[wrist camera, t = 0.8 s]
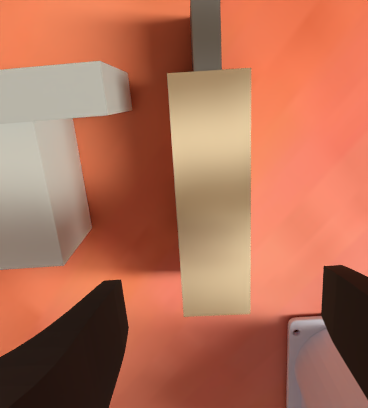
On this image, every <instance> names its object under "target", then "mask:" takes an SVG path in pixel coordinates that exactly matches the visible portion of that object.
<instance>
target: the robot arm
mask: <svg viewBox="0 0 368 408" xmlns="http://www.w3.org/2000/svg"><path fill="white" fill-rule="evenodd" d="M128 328H129V327H128V321H127V315H126V308H125V302H124V296H123V289H122V283H121V280H108V281H103V282H102V283H101V284H99V285H98V286H97V287H96V288H95V289H93V290H92V291H91V292H90V293H89V294H88V295H87V296H85V297H84V298H83V299H82V300H81V301H80V302H78V303H77V304H76V305H75V306H74V307H73V308H71V309H70V310H69V311H68V312H66V313H65V314H64V315H63V316H61V317H60V318H59V319H57V320H56V321H55V322H54V323H52V324H51V325H50V326H48V327H47V328H46V329H44V330H43V331H42V332H40V333H39V334H37V335H36V336H34V337H33V338H31V339H30V340H28V341H27V342H25V343H24V344H22V345H20V346H19V347H17V348H16V349H14V350H12V351H10V352H9V353H7V354H5V355H3V356H1V357H0V408H109V405H110V401H111V398H112V395H113V391H114V388H115V385H116V381H117V378H118V375H119V371H120V368H121V364H122V361H123V357H124V353H125V348H126V342H127V335H128ZM294 330H298V331H297V332H293V331H294ZM286 408H368V277H367V276H365V275H363V274H361V273H358V272H356V271H354V270H352V269H350V268H348V267H345V266H343V265H336V266H324V273H323V293H322V312H321V316H311V317H295V318H292V319H290V320H289V322H288V343H287V394H286Z"/></svg>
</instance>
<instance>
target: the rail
mask: <svg viewBox="0 0 368 408" xmlns="http://www.w3.org/2000/svg"><path fill="white" fill-rule="evenodd" d="M190 26H191V47H192V68H193V72H179V73H167V82H168V96H169V110H170V125H171V139H172V154H173V168H174V182H175V197H176V211H177V226H178V240H179V254H180V269H181V283H182V298H183V312H184V317H190V316H214V315H238V314H250V269H251V68H241V69H226V70H222V62H221V17H220V0H190Z"/></svg>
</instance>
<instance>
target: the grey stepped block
mask: <svg viewBox="0 0 368 408" xmlns="http://www.w3.org/2000/svg"><path fill="white" fill-rule="evenodd" d="M127 111H132V103H131V95H130V86H129V78H128V73H127V72H124V71H122V70H120V69H118V68H115V67H113V66H111V65H108V64H106V63H104V62H101V61H93V62H82V63H71V64H60V65H48V66H37V67H26V68H15V69H3V70H0V270H5V269H20V268H35V267H50V266H64V265H65V264H66V262H67V261H68V260H69V258H70V257H71V256H72V254H73V253H74V252H75V250H76V249H77V248H78V246H79V245H80V244H81V242H82V241H83V240H84V238H85V237H86V236H87V234H88V233H89V232H90V230H91V229H92V224H91V218H90V213H89V207H88V201H87V196H86V190H85V184H84V179H83V173H82V167H81V162H80V156H79V150H78V145H77V139H76V134H75V128H74V122H73V118H80V117H92V116H104V115H111V114H116V113H122V112H127Z"/></svg>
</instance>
